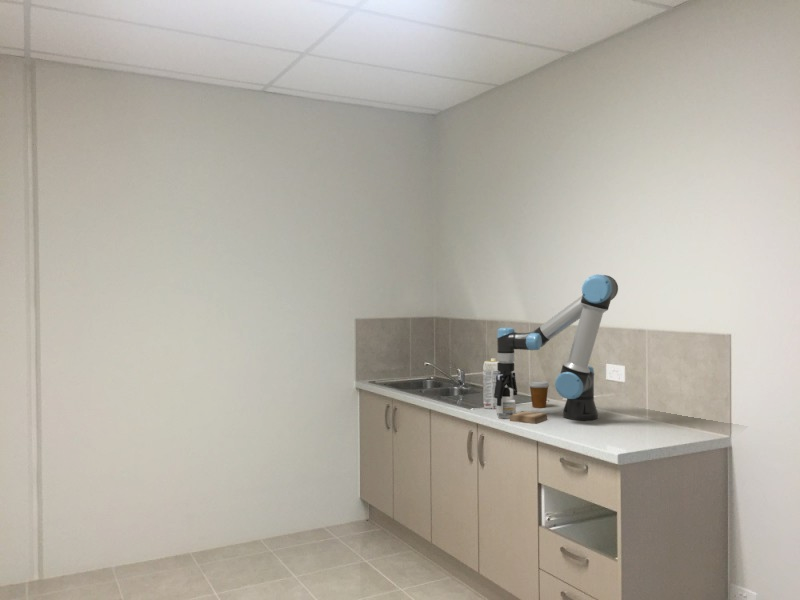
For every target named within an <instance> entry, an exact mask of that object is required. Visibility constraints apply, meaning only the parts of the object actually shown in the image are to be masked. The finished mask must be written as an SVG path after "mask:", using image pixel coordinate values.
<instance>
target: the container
mask: <svg viewBox="0 0 800 600" xmlns="http://www.w3.org/2000/svg"><path fill="white" fill-rule="evenodd" d="M502 399H503V413H497V412H496V416H497V418H498V419H510V415H512V414H515V413H517V411H516V406H517V405H516V400H514V399H513V389H512V388H508V387H507V386H505V389H504V392H503V396H502Z"/></svg>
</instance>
